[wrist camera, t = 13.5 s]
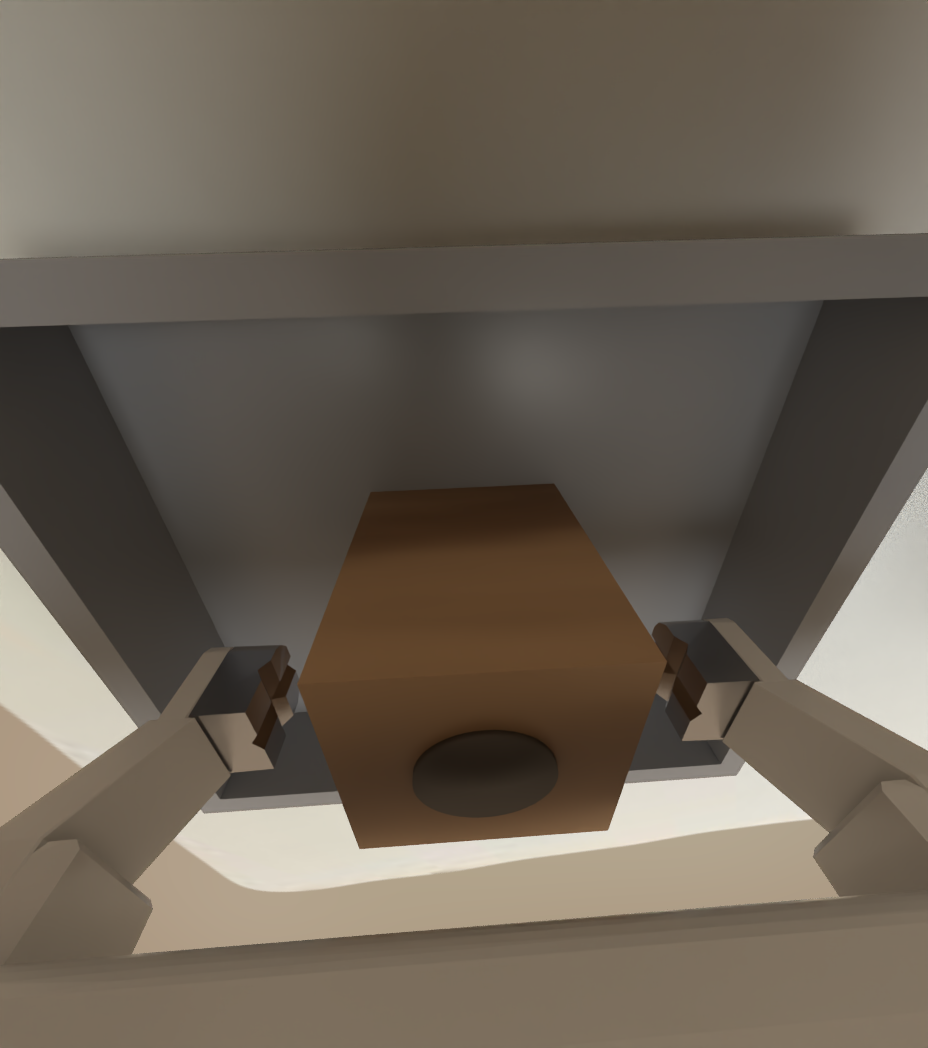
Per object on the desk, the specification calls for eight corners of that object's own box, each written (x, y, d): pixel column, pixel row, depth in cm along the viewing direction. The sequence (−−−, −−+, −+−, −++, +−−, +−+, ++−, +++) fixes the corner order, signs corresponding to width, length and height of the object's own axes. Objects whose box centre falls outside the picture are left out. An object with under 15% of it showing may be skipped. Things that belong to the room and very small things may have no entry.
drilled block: (370, 491, 10) (293, 693, 5) (554, 483, 10) (672, 670, 5) (393, 627, 13) (358, 858, 7) (540, 618, 13) (610, 839, 8)
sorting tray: (30, 280, 8) (-218, 264, 5) (851, 256, 9) (1076, 228, 6) (250, 714, 16) (204, 813, 13) (681, 686, 16) (736, 775, 13)
